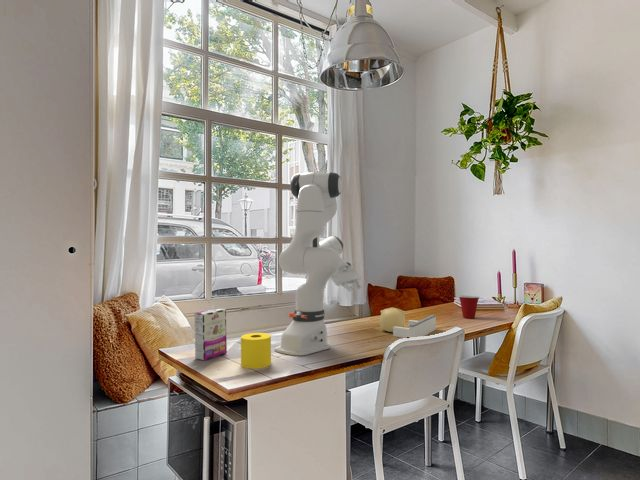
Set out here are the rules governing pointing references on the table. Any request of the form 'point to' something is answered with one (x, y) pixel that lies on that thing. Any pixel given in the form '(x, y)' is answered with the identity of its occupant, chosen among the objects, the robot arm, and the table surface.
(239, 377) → the table surface
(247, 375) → the table surface
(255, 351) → the yellow toilet paper roll
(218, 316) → the candy bar box
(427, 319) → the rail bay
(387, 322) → the sculpture
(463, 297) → the plastic cup
